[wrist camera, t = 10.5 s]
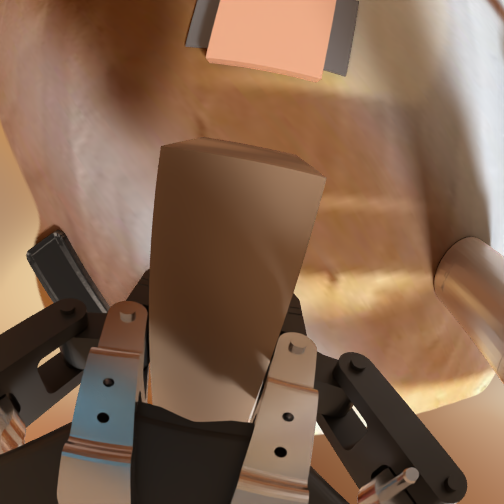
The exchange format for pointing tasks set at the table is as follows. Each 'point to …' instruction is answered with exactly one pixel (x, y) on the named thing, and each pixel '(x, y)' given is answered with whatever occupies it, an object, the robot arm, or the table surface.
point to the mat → (337, 42)
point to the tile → (273, 36)
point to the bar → (223, 270)
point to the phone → (64, 272)
